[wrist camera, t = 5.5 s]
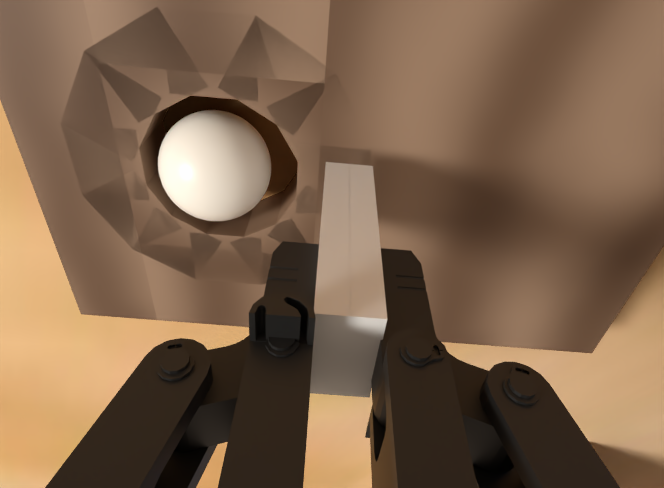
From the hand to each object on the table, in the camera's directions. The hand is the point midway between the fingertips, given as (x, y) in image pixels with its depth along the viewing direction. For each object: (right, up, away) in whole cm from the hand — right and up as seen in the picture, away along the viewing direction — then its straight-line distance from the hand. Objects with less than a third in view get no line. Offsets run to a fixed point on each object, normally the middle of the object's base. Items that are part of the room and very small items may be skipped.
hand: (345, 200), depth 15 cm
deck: (+1, +2, +3) cm, 4 cm away
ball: (-5, +1, +1) cm, 5 cm away
